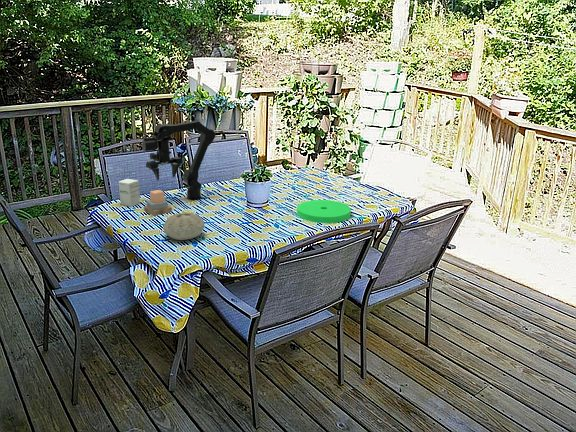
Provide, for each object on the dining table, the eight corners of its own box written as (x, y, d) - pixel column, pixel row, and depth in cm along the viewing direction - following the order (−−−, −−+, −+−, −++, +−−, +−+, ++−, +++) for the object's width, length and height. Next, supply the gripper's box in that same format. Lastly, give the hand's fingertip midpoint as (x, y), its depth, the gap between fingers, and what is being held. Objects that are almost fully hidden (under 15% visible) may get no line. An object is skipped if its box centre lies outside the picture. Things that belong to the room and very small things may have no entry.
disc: (354, 208, 263) (354, 202, 262) (345, 226, 239) (346, 219, 238) (304, 203, 270) (304, 197, 269) (290, 220, 246) (291, 213, 244)
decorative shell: (155, 237, 221) (153, 216, 218) (184, 226, 235) (183, 205, 232) (185, 247, 212) (183, 224, 208) (213, 234, 226) (212, 213, 222)
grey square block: (161, 203, 258) (161, 198, 257) (167, 207, 252) (167, 202, 251) (146, 206, 254) (146, 200, 253) (152, 210, 247) (151, 204, 246)
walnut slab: (162, 208, 261) (161, 202, 260) (172, 213, 254) (171, 207, 253) (144, 212, 254) (143, 206, 253) (153, 217, 247) (153, 211, 246)
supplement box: (120, 204, 263) (117, 181, 258) (130, 200, 269) (128, 178, 265) (130, 207, 259) (128, 183, 255) (140, 203, 266) (138, 180, 261)
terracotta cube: (159, 199, 255) (159, 189, 254) (164, 201, 252) (163, 191, 250) (150, 200, 252) (149, 191, 250) (155, 203, 249) (154, 193, 247)
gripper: (171, 144, 269) (173, 172, 275) (139, 149, 257) (141, 178, 262) (182, 147, 262) (184, 176, 267) (150, 153, 250) (152, 183, 255)
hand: (165, 178), depth 263 cm, fingers open, 9 cm apart
